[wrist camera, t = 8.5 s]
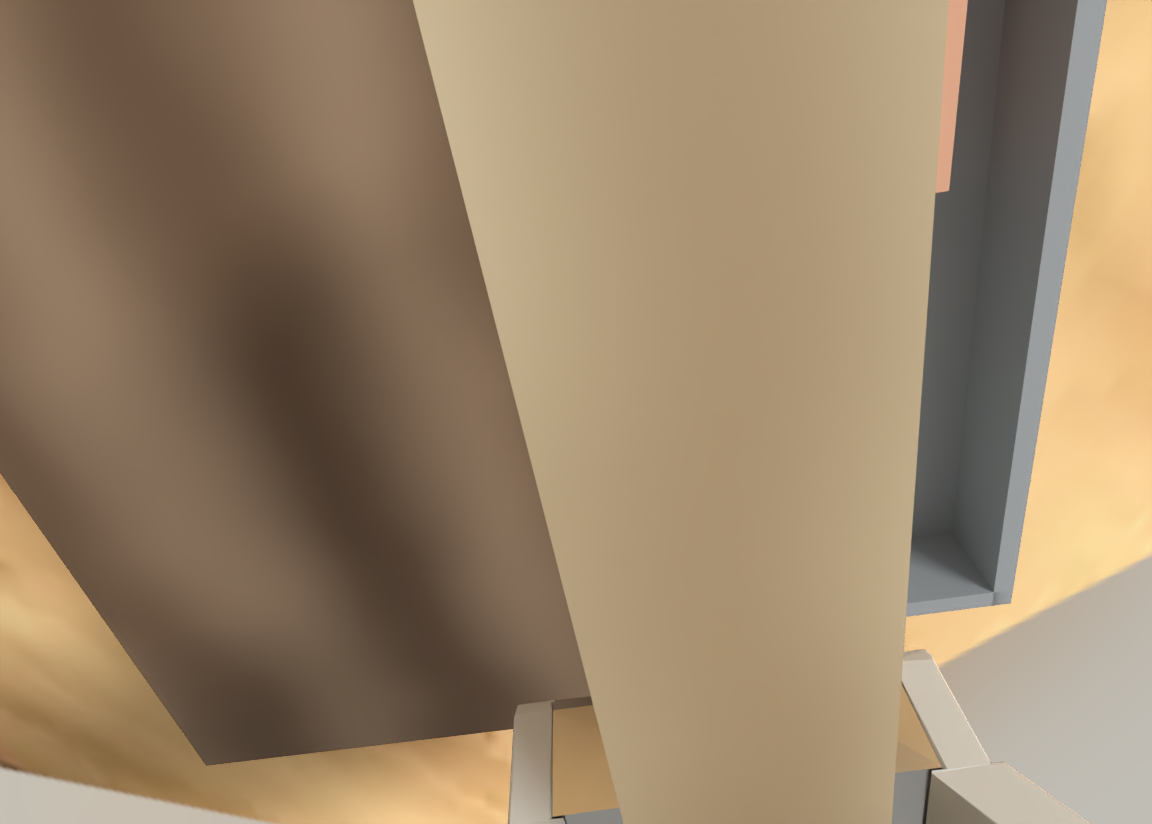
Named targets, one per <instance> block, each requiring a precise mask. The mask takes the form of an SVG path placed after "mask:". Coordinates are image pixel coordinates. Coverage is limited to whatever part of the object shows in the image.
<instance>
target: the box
mask: <svg viewBox="0 0 1152 824" xmlns="http://www.w3.org/2000/svg"><path fill="white" fill-rule="evenodd" d="M1106 4H1107V0H968V4H967V14H966V24H965V34H964V45H963V55H962V65H961V75H960V85H959V95H958V105H957V115H956V126H955V136H954V146H953V156H952V166H951V176H950V186H949V191H945V192H939V193H935V207H934V222H933V236H932V250H931V265H930V279H929V294H928V308H927V322H926V337H925V351H924V365H923V380H922V394H921V409H920V423H919V437H918V452H917V466H916V480H915V495H914V509H913V524H912V538H911V552H910V567H909V581H908V596H907V610H906V617H907V616H915V615H923V614H930V613H938V612H946V611H954V610H962V609H970V608H978V607H985V606H993V605H1001V604H1009V603H1011V598H1012V592H1013V586H1014V580H1015V573H1016V567H1017V561H1018V555H1019V548H1020V542H1021V536H1022V529H1023V523H1024V517H1025V511H1026V504H1027V498H1028V492H1029V486H1030V479H1031V473H1032V467H1033V461H1034V454H1035V448H1036V442H1037V436H1038V429H1039V423H1040V417H1041V411H1042V404H1043V398H1044V392H1045V385H1046V379H1047V373H1048V367H1049V360H1050V354H1051V348H1052V342H1053V335H1054V329H1055V323H1056V317H1057V310H1058V304H1059V298H1060V292H1061V285H1062V279H1063V273H1064V267H1065V260H1066V254H1067V248H1068V241H1069V235H1070V229H1071V223H1072V216H1073V210H1074V204H1075V198H1076V191H1077V185H1078V179H1079V173H1080V166H1081V160H1082V154H1083V148H1084V141H1085V135H1086V129H1087V123H1088V116H1089V110H1090V104H1091V98H1092V91H1093V85H1094V79H1095V72H1096V66H1097V60H1098V54H1099V47H1100V41H1101V35H1102V29H1103V22H1104V16H1105V10H1106Z"/></svg>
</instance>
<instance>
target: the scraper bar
mask: <svg viewBox="0 0 1152 824" xmlns="http://www.w3.org/2000/svg"><path fill="white" fill-rule="evenodd" d="M413 3H414V7H415V11H416V15H417V19H418V23H419V27H420V30H421V34H422V38H423V42H424V46H425V50H426V54H427V58H428V62H429V66H430V69H431V73H432V77H433V81H434V85H435V89H436V93H437V97H438V101H439V105H440V109H441V112H442V116H443V120H444V124H445V128H446V132H447V136H448V140H449V144H450V148H451V152H452V155H453V159H454V163H455V167H456V171H457V175H458V179H459V183H460V187H461V191H462V194H463V198H464V202H465V206H466V210H467V214H468V218H469V222H470V226H471V230H472V234H473V237H474V241H475V245H476V249H477V253H478V257H479V261H480V265H481V269H482V273H483V277H484V280H485V284H486V288H487V292H488V296H489V300H490V304H491V308H492V312H493V316H494V319H495V323H496V327H497V331H498V335H499V339H500V343H501V347H502V351H503V355H504V359H505V362H506V366H507V370H508V374H509V378H510V382H511V386H512V390H513V394H514V398H515V401H516V405H517V409H518V413H519V417H520V421H521V425H522V429H523V433H524V437H525V441H526V444H527V448H528V452H529V456H530V460H531V464H532V468H533V472H534V476H535V480H536V484H537V487H538V491H539V495H540V499H541V503H542V507H543V511H544V515H545V519H546V523H547V526H548V530H549V534H550V538H551V542H552V546H553V550H554V554H555V558H556V562H557V566H558V569H559V573H560V577H561V581H562V585H563V589H564V593H565V597H566V601H567V605H568V609H569V612H570V616H571V620H572V624H573V628H574V632H575V636H576V640H577V644H578V648H579V651H580V655H581V659H582V663H583V667H584V671H585V675H586V679H587V683H588V687H589V691H590V694H591V698H592V702H593V706H594V710H595V714H596V718H597V722H598V726H599V730H600V734H601V737H602V741H603V745H604V749H605V753H606V757H607V761H608V765H609V769H610V773H611V776H612V780H613V784H614V788H615V792H616V796H617V800H618V804H619V808H620V812H621V816H622V819H623V823H624V824H892V811H893V797H894V782H895V768H896V754H897V739H898V725H899V711H900V696H901V682H902V667H903V653H904V639H905V624H906V610H907V596H908V581H909V567H910V552H911V538H912V524H913V509H914V495H915V480H916V466H917V452H918V437H919V423H920V409H921V394H922V380H923V365H924V351H925V337H926V322H927V308H928V294H929V279H930V265H931V250H932V236H933V222H934V207H935V193H936V178H937V164H938V150H939V135H940V121H941V107H942V92H943V78H944V63H945V49H946V35H947V20H948V6H949V0H413Z"/></svg>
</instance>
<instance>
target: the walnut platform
mask: <svg viewBox="0 0 1152 824" xmlns="http://www.w3.org/2000/svg"><path fill="white" fill-rule="evenodd" d="M0 473H1V474H2V476H3V477H4V479H5V480H6V482H7V483H8V484H9V486H10V487H11V489H12V490H13V492H14V493H15V494H16V496H17V497H18V499H19V500H20V501H21V503H22V504H23V506H24V507H25V509H26V510H27V511H28V513H29V514H30V516H31V517H32V519H33V520H34V521H35V523H36V524H37V526H38V527H39V529H40V530H41V531H42V533H43V534H44V536H45V537H46V538H47V540H48V541H49V543H50V544H51V546H52V547H53V548H54V550H55V551H56V553H57V554H58V556H59V557H60V558H61V560H62V561H63V563H64V564H65V565H66V567H67V568H68V570H69V571H70V573H71V574H72V575H73V577H74V578H75V580H76V581H77V583H78V584H79V585H80V587H81V588H82V590H83V591H84V592H85V594H86V595H87V597H88V598H89V600H90V601H91V602H92V604H93V605H94V607H95V608H96V610H97V611H98V612H99V614H100V615H101V617H102V618H103V619H104V621H105V622H106V624H107V625H108V627H109V628H110V629H111V631H112V632H113V634H114V635H115V637H116V638H117V639H118V641H119V642H120V644H121V645H122V646H123V648H124V649H125V651H126V652H127V654H128V655H129V656H130V658H131V659H132V661H133V662H134V664H135V665H136V666H137V668H138V669H139V671H140V672H141V674H142V675H143V676H144V678H145V679H146V681H147V682H148V683H149V685H150V686H151V688H152V689H153V691H154V692H155V693H156V695H157V696H158V698H159V699H160V701H161V702H162V703H163V705H164V706H165V708H166V709H167V710H168V712H169V713H170V715H171V716H172V718H173V719H174V720H175V722H176V723H177V725H178V726H179V728H180V729H181V730H182V732H183V733H184V735H185V736H186V737H187V739H188V740H189V742H190V743H191V745H192V746H193V747H194V749H195V750H196V752H197V753H198V755H199V756H200V757H201V759H202V760H203V762H204V763H205V764H206V765H215V764H223V763H231V762H240V761H248V760H256V759H265V758H273V757H282V756H290V755H298V754H307V753H315V752H323V751H332V750H340V749H348V748H357V747H365V746H374V745H382V744H390V743H399V742H407V741H415V740H424V739H432V738H440V737H449V736H457V735H466V734H474V733H482V732H491V731H499V730H507V729H513V728H514V716H515V713H516V709H517V706H518V705H521V704H529V703H536V702H544V701H551V700H561V699H570V698H579V697H588V696H591V694H590V691H589V687H588V683H587V679H586V675H585V671H584V667H583V663H582V659H581V655H580V651H579V648H578V644H577V640H576V636H575V632H574V628H573V624H572V620H571V616H570V612H569V609H568V605H567V601H566V597H565V593H564V589H563V585H562V581H561V577H560V573H559V569H558V566H557V562H556V558H555V554H554V550H553V546H552V542H551V538H550V534H549V530H548V526H547V523H546V519H545V515H544V511H543V507H542V503H541V499H540V495H539V491H538V487H537V484H536V480H535V476H534V472H533V468H532V464H531V460H530V456H529V452H528V448H527V444H526V441H525V437H524V433H523V429H522V425H521V421H520V417H519V413H518V409H517V405H516V401H515V398H514V394H513V390H512V386H511V382H510V378H509V374H508V370H507V366H506V362H505V359H504V355H503V351H502V347H501V343H500V339H499V335H498V331H497V327H496V323H495V319H494V316H493V312H492V308H491V304H490V300H489V296H488V292H487V288H486V284H485V280H484V277H483V273H482V269H481V265H480V261H479V257H478V253H477V249H476V245H475V241H474V237H473V234H472V230H471V226H470V222H469V218H468V214H467V210H466V206H465V202H464V198H463V194H462V191H461V187H460V183H459V179H458V175H457V171H456V167H455V163H454V159H453V155H452V152H451V148H450V144H449V140H448V136H447V132H446V128H445V124H444V120H443V116H442V112H441V109H440V105H439V101H438V97H437V93H436V89H435V85H434V81H433V77H432V73H431V69H430V66H429V62H428V58H427V54H426V50H425V46H424V42H423V38H422V34H421V30H420V27H419V23H418V19H417V15H416V11H415V7H414V3H413V0H0Z"/></svg>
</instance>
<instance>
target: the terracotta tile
mask: <svg viewBox="0 0 1152 824" xmlns="http://www.w3.org/2000/svg"><path fill="white" fill-rule="evenodd" d="M967 4H968V0H949V6H948V20H947V35H946V49H945V63H944V78H943V92H942V107H941V121H940V135H939V150H938V164H937V178H936V193H939V192H945V191H949V186H950V176H951V166H952V156H953V146H954V136H955V126H956V115H957V105H958V95H959V85H960V75H961V65H962V55H963V45H964V34H965V24H966V14H967Z"/></svg>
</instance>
